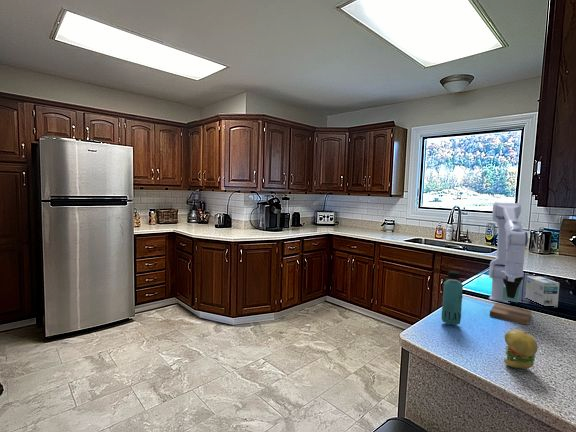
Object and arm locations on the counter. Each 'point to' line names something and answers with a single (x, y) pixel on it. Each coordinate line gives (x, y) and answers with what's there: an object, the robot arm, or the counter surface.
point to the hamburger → (520, 349)
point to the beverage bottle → (452, 299)
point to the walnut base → (510, 313)
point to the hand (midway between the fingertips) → (511, 295)
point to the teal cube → (515, 299)
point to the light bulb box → (542, 290)
